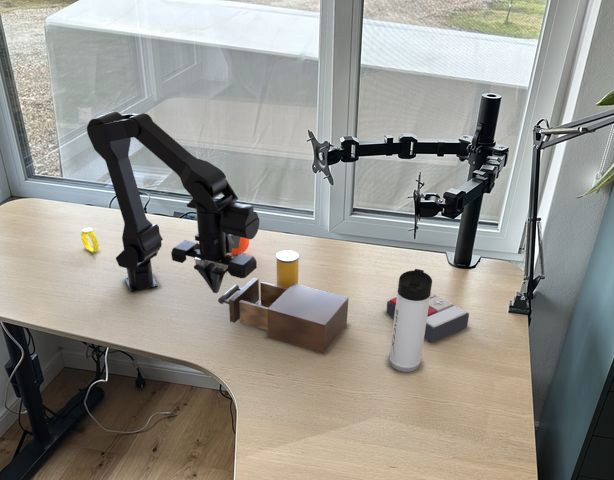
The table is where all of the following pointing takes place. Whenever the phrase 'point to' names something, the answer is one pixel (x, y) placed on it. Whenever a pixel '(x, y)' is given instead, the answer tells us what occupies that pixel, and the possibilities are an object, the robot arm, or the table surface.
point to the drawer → (252, 302)
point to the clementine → (241, 246)
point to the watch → (93, 238)
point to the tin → (287, 268)
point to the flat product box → (439, 318)
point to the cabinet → (307, 317)
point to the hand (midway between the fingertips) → (216, 292)
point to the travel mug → (410, 320)
